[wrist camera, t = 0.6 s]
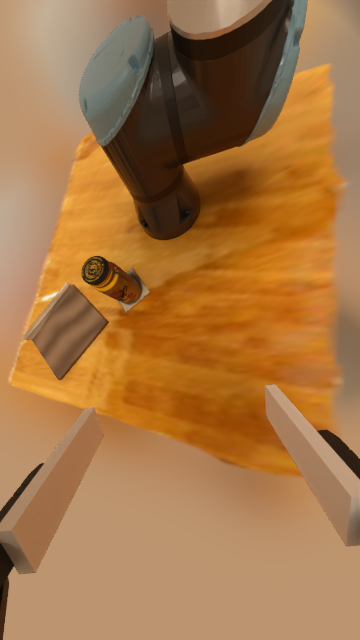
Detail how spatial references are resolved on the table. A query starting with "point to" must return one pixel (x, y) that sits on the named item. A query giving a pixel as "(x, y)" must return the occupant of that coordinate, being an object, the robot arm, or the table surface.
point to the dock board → (66, 329)
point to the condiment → (114, 281)
